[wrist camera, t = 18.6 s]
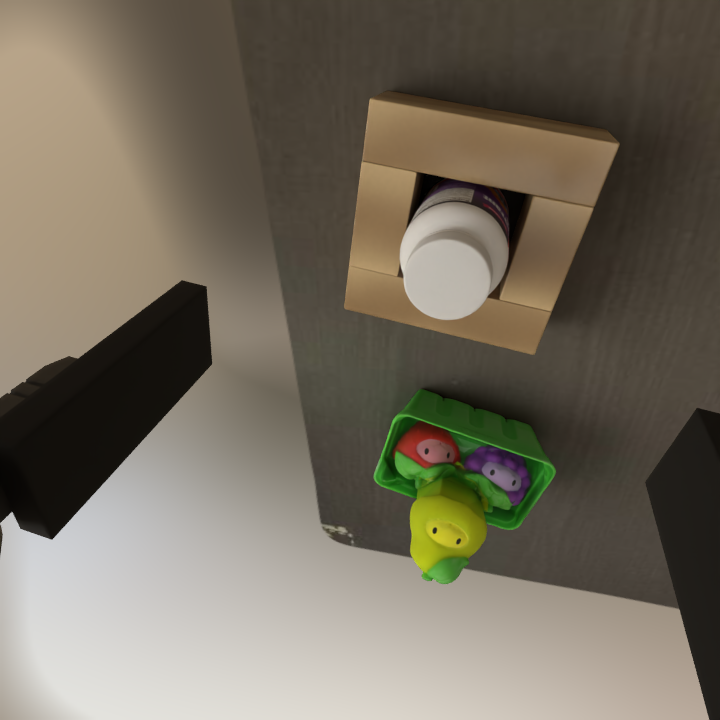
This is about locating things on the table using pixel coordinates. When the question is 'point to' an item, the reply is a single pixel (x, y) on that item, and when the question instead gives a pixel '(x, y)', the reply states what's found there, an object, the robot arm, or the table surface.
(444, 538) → the fruit basket
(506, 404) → the table surface
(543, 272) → the block
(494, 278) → the pill bottle
